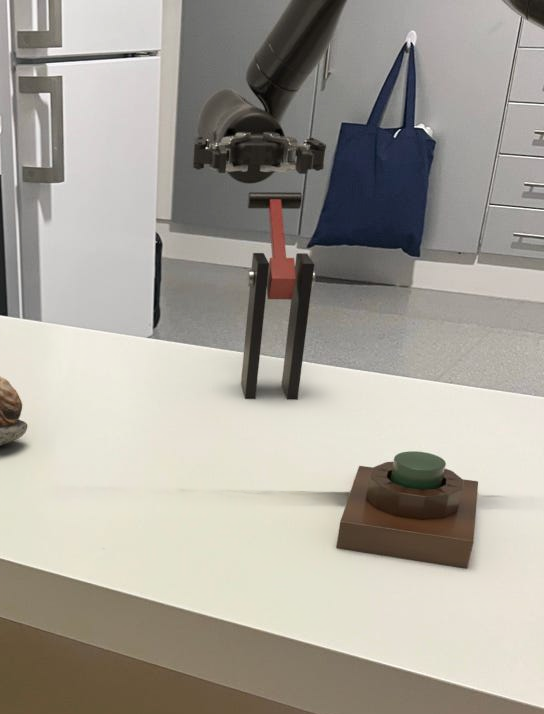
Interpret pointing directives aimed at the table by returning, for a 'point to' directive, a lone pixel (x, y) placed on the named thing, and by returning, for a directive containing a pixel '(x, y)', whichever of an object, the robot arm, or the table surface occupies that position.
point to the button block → (410, 518)
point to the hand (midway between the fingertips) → (263, 162)
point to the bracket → (295, 327)
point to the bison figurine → (10, 413)
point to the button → (418, 470)
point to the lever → (278, 241)
